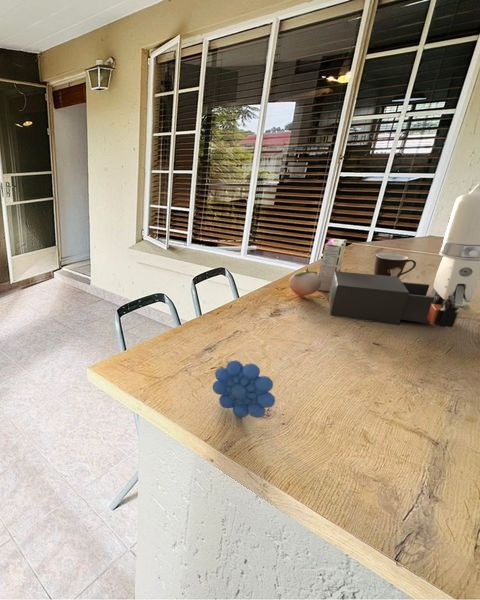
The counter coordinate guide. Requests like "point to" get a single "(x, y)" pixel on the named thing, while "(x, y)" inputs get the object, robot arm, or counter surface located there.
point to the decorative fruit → (305, 282)
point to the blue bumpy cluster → (243, 389)
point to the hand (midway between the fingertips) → (440, 321)
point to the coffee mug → (391, 265)
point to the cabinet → (367, 297)
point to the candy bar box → (331, 262)
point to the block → (435, 313)
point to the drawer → (420, 303)
